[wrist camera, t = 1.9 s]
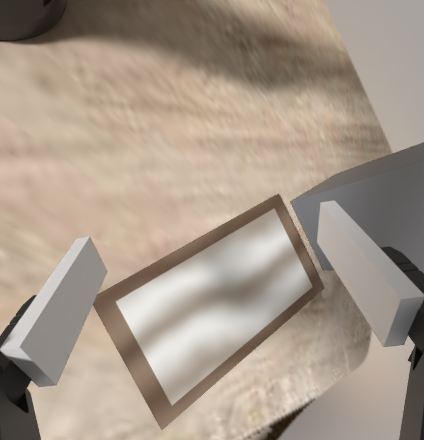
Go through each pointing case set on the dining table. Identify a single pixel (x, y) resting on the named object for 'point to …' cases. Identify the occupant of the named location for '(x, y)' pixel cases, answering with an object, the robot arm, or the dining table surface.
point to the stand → (374, 203)
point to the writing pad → (208, 306)
